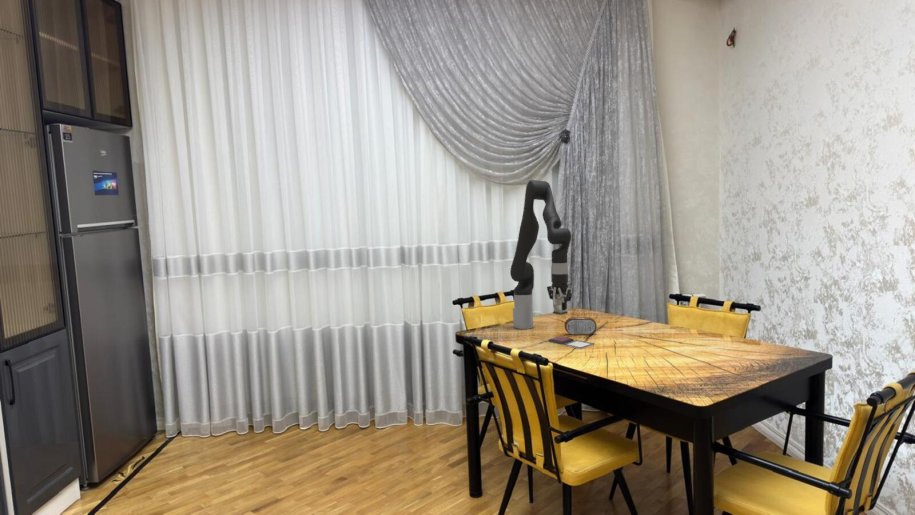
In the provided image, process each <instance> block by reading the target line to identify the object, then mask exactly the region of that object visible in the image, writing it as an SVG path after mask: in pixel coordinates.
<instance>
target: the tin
mask: <svg viewBox="0 0 915 515" xmlns="http://www.w3.org/2000/svg"><path fill="white" fill-rule="evenodd" d="M564 329H565V331H566V333H567V334H569V335H572V336H591V335H593V334H594V333H595V332H596V330H597V322H596V320H595V319H594V318H593V317H590V316H571V317H568V318H567V319H566V320H565V322H564Z"/></svg>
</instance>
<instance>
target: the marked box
mask: <svg viewBox="0 0 915 515" xmlns="http://www.w3.org/2000/svg"><path fill="white" fill-rule="evenodd" d="M594 345H596V344H595V343H594V342H589V341H584V340H580V339H575V340H574V341H572V342H568V343H565V344H562V346H565V347H569V348H574V349H578V350H583V349H586V348H589V347H592V346H594Z"/></svg>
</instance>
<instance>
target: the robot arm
mask: <svg viewBox="0 0 915 515" xmlns="http://www.w3.org/2000/svg"><path fill="white" fill-rule="evenodd" d="M525 187H526V188H525V195H524V201H523V202H524V203H523V210H522V211H523V212H522V215H521V216H522V218H521V222H520V226H519V231H518V237H517V242H516V248H515V252H514V256H513V260H512V262H511V267H510V269H509V270H510V272H509V273H510V278H511V279H512V280H513V281H514V282H518V283H517V285H516V287H514V289H513V301H514V302H513V303H514V307H513V308H512V320H513V321H512V323H513V325H512V326H513V328H515V329H519V330H527V329H528V330H529V329H533V328H534V312H533V311H534V309H533V306H534V304H533V289H534V286H535V281H534V280H535V270H534V267H533V265H532V264H531V263H530V262H527V260H528V256H529V254H530V253H531V251H532V250H533V248H534V246H535V244H536V242H537V239H538V235H539V230H540V224H539V221H538V218H537V216H536V213H535V210H534V203H535V200H537V201H539V200H540V201H543V202H544V204H545V205H544V207H543V211H542V219H543V221H544V224H545V226H546V233H547V234H546V235H547V236H546V237H547V241H548V242H549V244H551V245H560V246H559V247H558V248H556V249H553V250H552V251H551V266H550V269H551V271H550V274H551V275H550V276H551V285H549V286H547V287H546V289H547V293H548V297H549V300H552V301H553V308H554V299H555V298H557V297H556V296H557V294H559V295H560V297H561V298H562V310H563V311H564V310H566V311H567V309H568V308H567V306H568V302H571V300H572V296H573V293H574V288H569V285H568V282H569V265H568V264H569V263H568V252H569V247H570V243H571V240H572V233H571V231H570V229H568V228H566V227H562V220H561V218H560V216H559V213H558V211H557V209H556V208H557V207H556V204H555V200H554V195H553V190H552V188H551V185H550V182H548V181H546V180H537V179H536V180H535V179H530V180H528V182H527V183H526V186H525ZM561 227H562V228H561Z"/></svg>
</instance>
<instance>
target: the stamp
mask: <svg viewBox="0 0 915 515" xmlns="http://www.w3.org/2000/svg"><path fill="white" fill-rule="evenodd" d="M556 297H557V298H555V299H554V307H553V311H552V314H553V315H554V314H555V315H559V316H560V315H565V314H567V313H568V311H567V309H566V310H564V311H563V310H562V298H561V297H560V295H559V294H557V296H556Z"/></svg>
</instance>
